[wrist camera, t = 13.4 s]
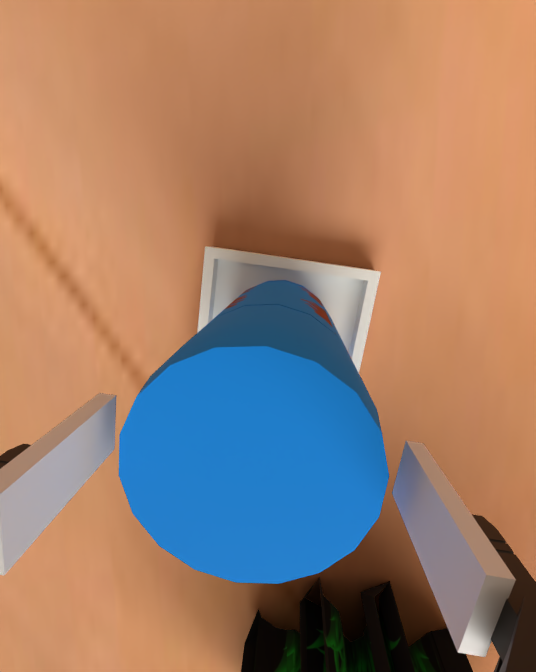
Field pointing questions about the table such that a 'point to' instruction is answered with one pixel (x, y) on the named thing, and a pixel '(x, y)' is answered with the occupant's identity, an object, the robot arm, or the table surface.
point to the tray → (318, 277)
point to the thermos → (257, 443)
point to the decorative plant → (349, 642)
